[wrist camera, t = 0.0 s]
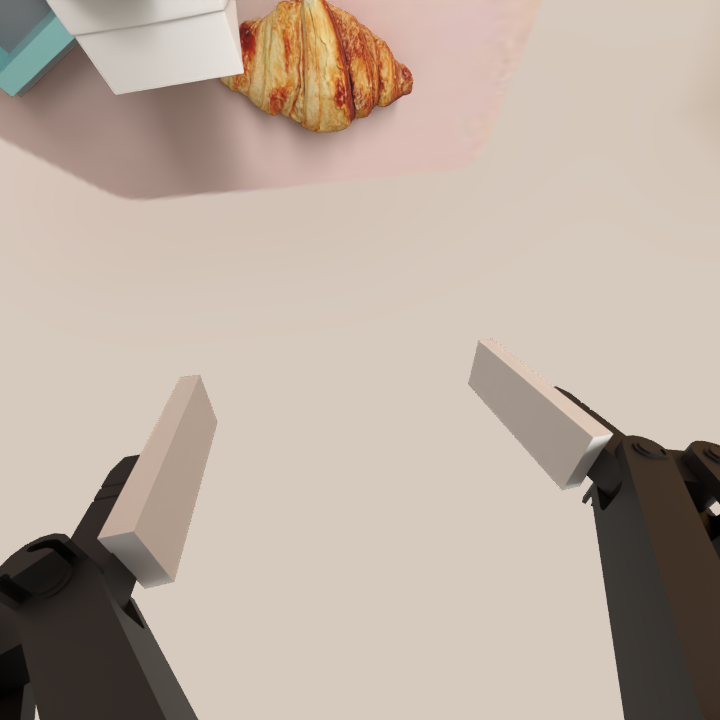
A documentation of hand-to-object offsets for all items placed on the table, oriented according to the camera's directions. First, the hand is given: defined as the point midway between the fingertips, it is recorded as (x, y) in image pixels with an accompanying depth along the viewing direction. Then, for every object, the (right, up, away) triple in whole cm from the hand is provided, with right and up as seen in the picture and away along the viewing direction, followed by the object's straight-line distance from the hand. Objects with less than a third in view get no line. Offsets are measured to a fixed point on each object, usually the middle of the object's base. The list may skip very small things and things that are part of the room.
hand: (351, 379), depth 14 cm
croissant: (-5, +32, +16) cm, 37 cm away
